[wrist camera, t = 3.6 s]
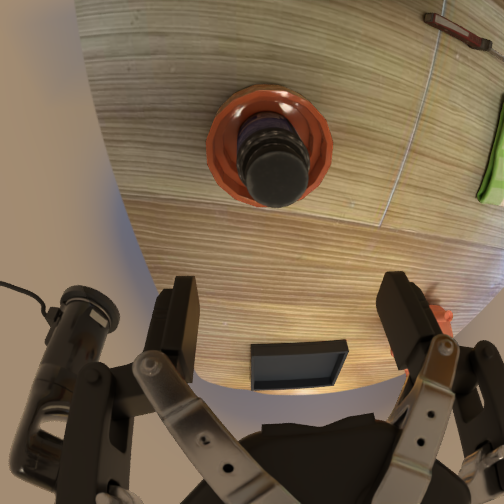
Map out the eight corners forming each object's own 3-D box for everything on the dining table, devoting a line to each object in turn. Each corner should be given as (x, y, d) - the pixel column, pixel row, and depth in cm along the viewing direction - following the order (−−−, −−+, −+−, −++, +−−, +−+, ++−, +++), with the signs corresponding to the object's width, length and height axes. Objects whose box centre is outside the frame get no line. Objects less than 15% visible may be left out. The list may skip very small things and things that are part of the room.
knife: (517, 71, 23) (541, 80, 19) (515, 79, 24) (539, 89, 20) (422, 12, 21) (447, 11, 17) (420, 22, 22) (445, 22, 18)
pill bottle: (226, 144, 31) (218, 190, 23) (259, 98, 28) (267, 124, 20) (273, 174, 34) (284, 229, 25) (307, 132, 31) (334, 172, 22)
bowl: (214, 186, 35) (210, 207, 31) (209, 85, 28) (203, 91, 24) (315, 186, 35) (325, 207, 31) (324, 87, 28) (337, 94, 24)
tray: (250, 380, 61) (251, 390, 59) (250, 344, 53) (251, 356, 51) (331, 375, 61) (333, 385, 59) (346, 339, 53) (349, 351, 51)
